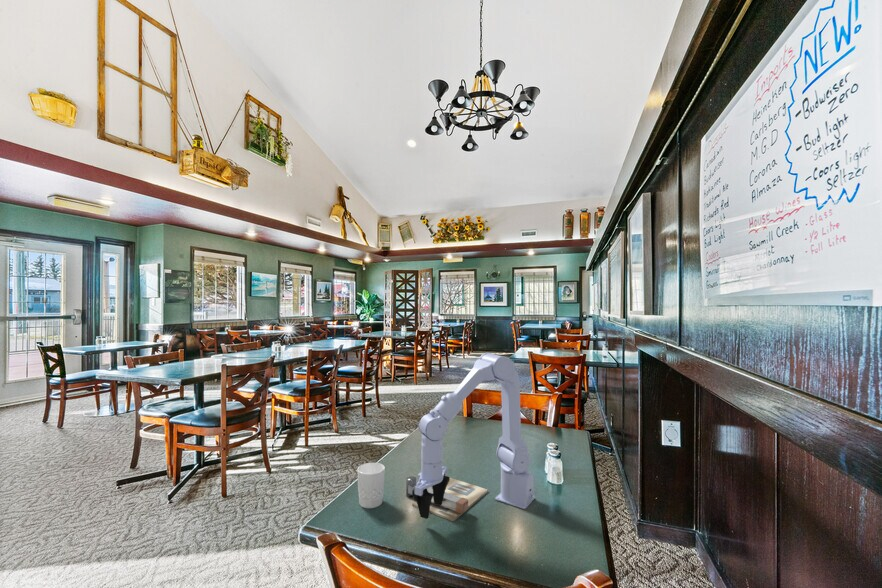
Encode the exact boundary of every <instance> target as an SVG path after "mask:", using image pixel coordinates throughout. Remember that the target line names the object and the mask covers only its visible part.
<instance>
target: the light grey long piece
mask: <svg viewBox="0 0 882 588" xmlns="http://www.w3.org/2000/svg"><path fill="white" fill-rule="evenodd" d="M405 481H406V482H405V484H406V485H405V487H406V489H405V496H406V497H407V498H414V496H413V495H412V490H413V489H415V486H416V485H417V483H418V481H417V477H415V476H407V477H406V479H405ZM427 491H428V492H429V493H432V494H433V488H432V486H431V487H428V488H427ZM431 502H433V503H434V498H433V497H432V500H431ZM441 506H444V507H446V508H449V509H452V510H455V511H456V512H458V513H461V514H462V515H463V514H464V513H465V512H467V511H468V499H466V498H463V497H462V498H461V497H458V496H455V495H452V494H449V493H446V492H445V493H444V497H443V502H442V505H441Z"/></svg>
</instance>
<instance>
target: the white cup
mask: <svg viewBox="0 0 882 588" xmlns="http://www.w3.org/2000/svg"><path fill="white" fill-rule="evenodd" d="M385 473H386V468H385V465H384V464H382V463H379V462H368V463H363V464H361V465H359V466H358V467H357V492H358V503H359V504H358V505H359V506H360V507H362V508H364V509H374V508H377V507H378V508H379V507H380V506H381V505H382V504H383V500H384V499H383V498H384V486H385Z"/></svg>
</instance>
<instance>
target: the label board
mask: <svg viewBox="0 0 882 588" xmlns="http://www.w3.org/2000/svg"><path fill="white" fill-rule="evenodd" d="M449 478H450V481H449V483H448V485H447V487H446V490H445V492H446V493H449V494H452V495H455V496H458V497H461V498H462V497H463V498H466V499H468V509H470V508H471V507H472V506H473V505H474V504H476V503H477V502H478V501H479V500H480V499H481V498H482V497H484V496H485V495H486V494H487V493H488V492H489V489H487V488H484V487H481V486H478V485H474V484H472V483H468V482H466V481H462V480H458V479H455V478H452V477H449ZM411 504H412V505H411V506H412V507H414V508H417V509H419V508H418V505H417V502H416V500H415V501H414V502H412V503H411ZM468 509H467V510H468ZM429 514H432V515H434V516H437V517H440V518H443V519H446V520H448V521H450V522H455V521H456V520H457V519H458V518H460V517H461V516H462V515H463V514H461V513H458V512H456V511H455V510H452V509H449V508H446V507H444V506H441V505H438V504H435V503H433V502H431V504H430V511H429Z"/></svg>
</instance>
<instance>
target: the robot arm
mask: <svg viewBox="0 0 882 588" xmlns="http://www.w3.org/2000/svg"><path fill="white" fill-rule="evenodd" d="M494 380H496V381H497V382H498V383H499V384H500V387H501V388H500V389H501V390H500V391H501V425H502V436H501V435H500V437H499V438H498V445H497V448H496V453H495V454H496V458H497V459H498V461H499V465H500V493H499V494H497V495H496V496H495V498H494V499H495V500H496V501H498V502H501V503H504V504H507V505H510V506H514V507H516V508H520V509H522V510H526V509H527V508H528V506H530V505H531V503H532V502H533V501H534V499H536V496H535V476H534V474H533V473H532V472H530V471H528V469H529V467H530V465H531V456H530V454H529V450H528V445H527V443H526V442H525V441H524V439H523V437H522V429H521V428H522V424H521V423H522V421H521V420H522V419H521V390H520V389H521V386H520V385H521V384H520V382H521V380H520V376H519V373H518V372H517V370H516V367H515V362H514V361H513V360H512V359H511V358H509V357H508V356H504V355H499V354H496V353H495V354H494V353H492V352H485V353H482V354H481V355H480V357H479V358H478V359H477V360H475V362H474V364H473V367H472V368H471V370H470V371H469V373H468V374H467V375H466V376H465V377H464V379H463V380H462V381H461V382H460V384H459V385H458V387H456V389H455V390H454V391H453V392H450V393H449V392H448V393H446V394H445V395H444V394H443V395H442V396H441V397H440V399H441V400H440V401H439V402H438V403H437V404H436V406H435V407H434V408H432V409H430V411H429V413H427V414H424V415H423V416H422V417H421V419H420V421H419V423H418V424H417V428H418V431H419V432H420V433H421V444H420V447H421V449H420V450H421V453H420V457H421V458H420V460H421V461H420V466H421V468H420V472H419V473H418V474H417V478H419V479H418V481H417V485H416V486H415V489H413V490H412V495H413V496H414V497H413V498H414V500H415V501H416V502H417V505H418V508H417V509H418V512H419V517H420V518H423V519H425V520H427V519H428V518H429V516H430V513H429V511H430V504H431V500H432V497H433V498H434V503H435V504H438V505H442V502H443V497H444V493H445V490H446V487H447V485H448V483H449V481H450V478H451V477H449V476H447V474H448V467H447V466H444V465H443V437H445V435H446V433H447V428H448V426H449V424H450V423H451V422H452V420H454V418H455V417H456V416H457V415H458V414H459V412H460V411H461V410H462V409H463V401H465V400H466V398H467V397H468V396H469V395H470V394H471V393H473V391H474V390H476V388H477V387H478V386H479V385H480V384H481V383H483V382H488V381H489V382H490V381H494ZM428 487H432V488H433V494H432V493H429V492H428V491H427V488H428Z"/></svg>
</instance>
